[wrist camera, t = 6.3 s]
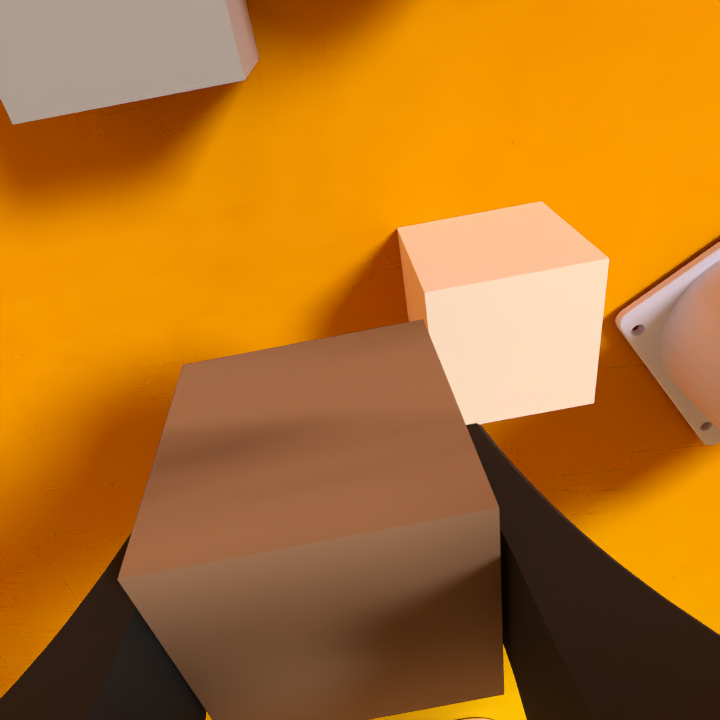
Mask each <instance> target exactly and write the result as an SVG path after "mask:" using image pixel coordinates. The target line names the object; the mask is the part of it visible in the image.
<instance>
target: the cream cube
mask: <svg viewBox="0 0 720 720" xmlns="http://www.w3.org/2000/svg"><path fill="white" fill-rule="evenodd" d="M397 232H398V240H399V248H400V256H401V264H402V272H403V280H404V288H405V296H406V304H407V312H408V320H409V322H411V321H417V320H422V319H423V320H424V322H425V325H426V327H427V330H428V332H429V335H430V337H431V340H432V342H433V345H434V347H435V350H436V352H437V355H438V357H439V360H440V362H441V365H442V367H443V370H444V372H445V375H446V377H447V379H448V382H449V384H450V387H451V389H452V392H453V394H454V397H455V399H456V402H457V404H458V407H459V409H460V412H461V414H462V417H463V419H464V422H465V424H466V425H468V424H473V423H477V424H483V423H489V422H494V421H500V420H505V419H510V418H516V417H521V416H527V415H532V414H538V413H543V412H549V411H554V410H560V409H565V408H571V407H576V406H582V405H587V404H593V403H594V398H595V388H596V379H597V369H598V360H599V350H600V341H601V332H602V322H603V313H604V303H605V294H606V284H607V275H608V265H609V258H608V257H607V256H606V255H605V254H603V253H602V252H601V251H600V250H599V249H597V248H596V247H595V246H594V245H593V244H591V243H590V242H589V241H588V240H587V239H586V238H584V237H583V236H582V235H581V234H580V233H578V232H577V231H576V230H575V229H574V228H572V227H571V226H570V225H569V224H568V223H567V222H565V221H564V220H563V219H562V218H561V217H559V216H558V215H557V214H556V213H555V212H553V211H552V210H551V209H550V208H549V207H548V206H546V205H545V204H544V203H543V202H542V201H541V202H535V203H530V204H524V205H519V206H514V207H508V208H503V209H498V210H492V211H487V212H481V213H476V214H471V215H465V216H460V217H455V218H449V219H444V220H438V221H433V222H428V223H422V224H417V225H412V226H406V227H401V228H397Z"/></svg>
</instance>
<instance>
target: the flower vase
mask: <svg viewBox="0 0 720 720" xmlns="http://www.w3.org/2000/svg"><path fill="white" fill-rule="evenodd" d="M462 720H492V719H486V718H470V719H462Z"/></svg>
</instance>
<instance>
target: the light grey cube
mask: <svg viewBox="0 0 720 720" xmlns="http://www.w3.org/2000/svg"><path fill="white" fill-rule="evenodd" d="M258 60H259V55H258V50H257V46H256V42H255V37H254V33H253V29H252V24H251V20H250V16H249V11H248V7H247V3H246V0H0V99H1V101H2V103H3V105H4V107H5V109H6V111H7V113H8V116H9V118H10V120H11V122H12V124H13V125H14V124H19V123H24V122H29V121H35V120H40V119H45V118H50V117H56V116H61V115H66V114H71V113H76V112H82V111H87V110H92V109H97V108H102V107H108V106H113V105H118V104H123V103H129V102H134V101H139V100H144V99H149V98H155V97H160V96H165V95H170V94H175V93H181V92H186V91H191V90H196V89H201V88H207V87H212V86H217V85H222V84H228V83H233V82H238V81H243V80H246V78H247V77H248V75H249V74H250V72H251V71H252V69H253V68H254V66H255V65H256V63H257V62H258Z"/></svg>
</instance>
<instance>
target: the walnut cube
mask: <svg viewBox="0 0 720 720" xmlns="http://www.w3.org/2000/svg"><path fill="white" fill-rule="evenodd" d="M117 580H118V581H119V583H120V584H121V586H122V587H123V589H124V590H125V592H126V593H127V595H128V596H129V597H130V599H131V600H132V602H133V603H134V605H135V606H136V608H137V609H138V611H139V612H140V614H141V615H142V617H143V618H144V620H145V621H146V623H147V624H148V625H149V627H150V628H151V630H152V631H153V633H154V634H155V636H156V637H157V639H158V640H159V642H160V643H161V645H162V646H163V648H164V649H165V651H166V652H167V653H168V655H169V656H170V658H171V659H172V661H173V662H174V664H175V665H176V667H177V668H178V670H179V671H180V673H181V674H182V676H183V677H184V679H185V680H186V681H187V683H188V684H189V686H190V687H191V689H192V690H193V692H194V693H195V695H196V696H197V698H198V699H199V701H200V702H201V704H202V705H203V707H204V708H205V709H206V711H207V712H208V714H209V715H210V717H211V718H212V720H369V719H374V718H380V717H385V716H390V715H396V714H401V713H407V712H412V711H417V710H423V709H428V708H433V707H439V706H444V705H449V704H455V703H460V702H465V701H471V700H476V699H482V698H487V697H492V696H498V695H503V694H504V671H503V633H502V594H501V556H500V518H499V506H498V503H497V501H496V498H495V496H494V494H493V491H492V489H491V486H490V484H489V481H488V479H487V476H486V474H485V471H484V469H483V466H482V464H481V461H480V459H479V456H478V454H477V451H476V449H475V446H474V444H473V441H472V439H471V436H470V434H469V432H468V429H467V427H466V424H465V422H464V419H463V417H462V414H461V412H460V409H459V407H458V404H457V402H456V399H455V397H454V394H453V392H452V389H451V387H450V384H449V382H448V379H447V377H446V375H445V372H444V370H443V367H442V365H441V362H440V360H439V357H438V355H437V352H436V350H435V347H434V345H433V342H432V340H431V337H430V335H429V332H428V330H427V327H426V325H425V322H424V320H423V319H422V320H417V321H411V322H406V323H401V324H396V325H390V326H385V327H380V328H374V329H369V330H364V331H359V332H353V333H348V334H343V335H338V336H332V337H327V338H322V339H317V340H311V341H306V342H301V343H296V344H290V345H285V346H280V347H275V348H269V349H264V350H259V351H254V352H248V353H243V354H238V355H233V356H227V357H222V358H217V359H212V360H206V361H201V362H196V363H191V364H185V365H183V367H182V370H181V373H180V377H179V380H178V383H177V386H176V390H175V393H174V396H173V400H172V403H171V406H170V409H169V413H168V416H167V419H166V422H165V426H164V429H163V432H162V435H161V439H160V442H159V445H158V449H157V452H156V455H155V458H154V462H153V465H152V468H151V471H150V475H149V478H148V481H147V485H146V488H145V491H144V494H143V498H142V501H141V504H140V507H139V511H138V514H137V517H136V520H135V524H134V527H133V530H132V534H131V537H130V540H129V543H128V547H127V550H126V553H125V556H124V560H123V563H122V566H121V570H120V573H119V576H118V579H117Z"/></svg>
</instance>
